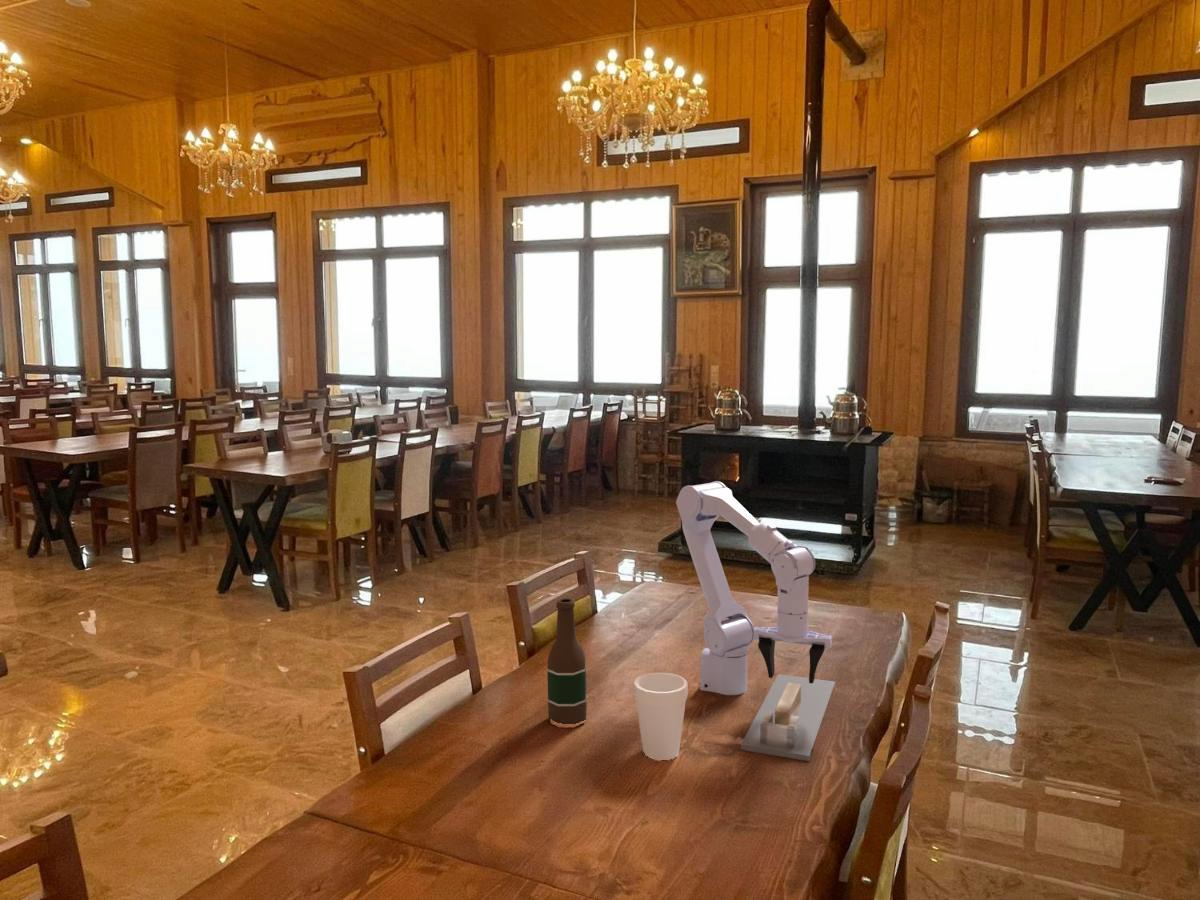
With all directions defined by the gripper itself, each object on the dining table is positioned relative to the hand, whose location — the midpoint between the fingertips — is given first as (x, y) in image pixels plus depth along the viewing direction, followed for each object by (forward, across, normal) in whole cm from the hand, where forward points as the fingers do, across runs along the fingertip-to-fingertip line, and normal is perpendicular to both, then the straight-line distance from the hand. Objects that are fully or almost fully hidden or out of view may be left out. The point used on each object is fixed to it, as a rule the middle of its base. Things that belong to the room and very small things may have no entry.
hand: (791, 678), depth 164 cm
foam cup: (+8, -19, -22) cm, 30 cm away
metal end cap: (+7, 0, -12) cm, 14 cm away
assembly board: (+8, 0, +1) cm, 8 cm away
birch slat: (+7, 0, -3) cm, 8 cm away
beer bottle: (+8, -40, -16) cm, 44 cm away
